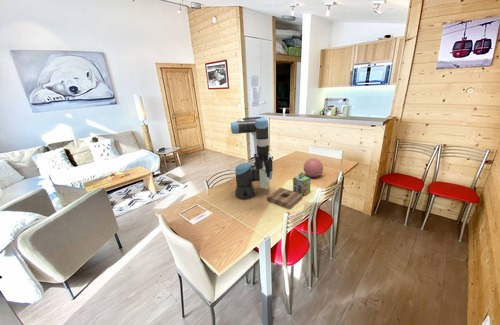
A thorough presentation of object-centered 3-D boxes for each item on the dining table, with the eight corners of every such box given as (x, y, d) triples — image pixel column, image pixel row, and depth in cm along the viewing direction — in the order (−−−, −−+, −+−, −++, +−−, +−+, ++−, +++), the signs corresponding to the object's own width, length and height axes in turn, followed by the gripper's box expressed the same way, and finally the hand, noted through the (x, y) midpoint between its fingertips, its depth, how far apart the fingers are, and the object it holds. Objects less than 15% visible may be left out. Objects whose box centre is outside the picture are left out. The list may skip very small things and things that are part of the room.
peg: (260, 186, 135) (259, 169, 131) (264, 184, 137) (263, 167, 133) (265, 188, 132) (264, 170, 128) (269, 186, 135) (268, 168, 131)
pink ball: (328, 173, 180) (329, 156, 175) (316, 181, 167) (317, 163, 162) (312, 169, 191) (312, 153, 185) (299, 177, 178) (300, 159, 173)
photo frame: (192, 224, 126) (178, 213, 138) (193, 225, 126) (178, 214, 138) (212, 212, 135) (197, 203, 147) (212, 214, 136) (197, 205, 148)
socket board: (267, 200, 146) (267, 196, 144) (280, 191, 157) (280, 187, 155) (289, 209, 134) (289, 204, 133) (302, 198, 145) (302, 194, 144)
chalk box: (303, 196, 147) (303, 177, 142) (292, 192, 154) (292, 174, 149) (310, 191, 153) (311, 173, 148) (300, 188, 160) (300, 170, 154)
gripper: (248, 144, 128) (250, 179, 136) (270, 148, 117) (271, 186, 125) (256, 141, 133) (258, 175, 141) (278, 145, 122) (279, 181, 130)
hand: (264, 180), depth 133 cm, fingers closed on peg, 4 cm apart
